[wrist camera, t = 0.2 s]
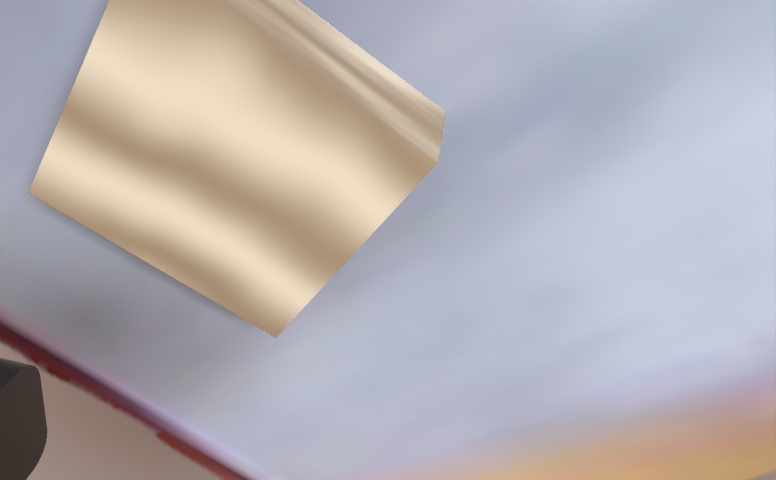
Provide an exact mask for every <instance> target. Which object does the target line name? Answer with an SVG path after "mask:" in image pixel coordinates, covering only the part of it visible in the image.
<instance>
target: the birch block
mask: <svg viewBox="0 0 776 480" xmlns="http://www.w3.org/2000/svg"><path fill="white" fill-rule="evenodd" d="M444 119H445V111H444V110H442V109H441V108H440V107H438V106H437V105H436V104H434V103H433V102H432V101H431V100H429V99H428V98H427V97H425V96H424V95H423V94H421V93H420V92H419V91H417V90H416V89H415V88H413V87H412V86H411V85H409V84H408V83H407V82H405V81H404V80H403V79H401V78H400V77H399V76H398V75H396V74H395V73H394V72H392V71H391V70H390V69H388V68H387V67H386V66H384V65H383V64H382V63H380V62H379V61H378V60H376V59H375V58H374V57H372V56H371V55H370V54H368V53H367V52H366V51H365V50H363V49H362V48H361V47H359V46H358V45H357V44H355V43H354V42H353V41H351V40H350V39H349V38H347V37H346V36H345V35H343V34H342V33H341V32H339V31H338V30H337V29H336V28H334V27H333V26H332V25H330V24H329V23H328V22H326V21H325V20H324V19H322V18H321V17H320V16H318V15H317V14H316V13H314V12H313V11H312V10H310V9H309V8H308V7H306V6H305V5H304V4H303V3H301V2H300V1H299V0H109V2H108V5H107V7H106V9H105V12H104V14H103V16H102V19H101V21H100V24H99V26H98V28H97V31H96V33H95V35H94V38H93V40H92V43H91V45H90V47H89V50H88V52H87V54H86V57H85V59H84V62H83V64H82V66H81V69H80V71H79V74H78V76H77V78H76V81H75V83H74V85H73V88H72V90H71V93H70V95H69V97H68V100H67V102H66V104H65V107H64V109H63V112H62V114H61V116H60V119H59V121H58V123H57V126H56V128H55V131H54V133H53V135H52V138H51V140H50V142H49V145H48V147H47V150H46V152H45V154H44V157H43V159H42V161H41V164H40V166H39V169H38V171H37V173H36V176H35V178H34V180H33V183H32V185H31V188H30V190H29V192H28V193H29V194H31V195H33V196H35V197H36V198H38V199H40V200H41V201H43V202H45V203H47V204H48V205H50V206H52V207H53V208H55V209H57V210H58V211H60V212H62V213H64V214H65V215H67V216H69V217H70V218H72V219H74V220H76V221H77V222H79V223H81V224H82V225H84V226H86V227H87V228H89V229H91V230H93V231H94V232H96V233H98V234H99V235H101V236H103V237H105V238H106V239H108V240H110V241H111V242H113V243H115V244H116V245H118V246H120V247H122V248H123V249H125V250H127V251H128V252H130V253H132V254H134V255H135V256H137V257H139V258H140V259H142V260H144V261H145V262H147V263H149V264H151V265H152V266H154V267H156V268H157V269H159V270H161V271H163V272H164V273H166V274H168V275H169V276H171V277H173V278H174V279H176V280H178V281H180V282H181V283H183V284H185V285H186V286H188V287H190V288H192V289H193V290H195V291H197V292H198V293H200V294H202V295H203V296H205V297H207V298H209V299H210V300H212V301H214V302H215V303H217V304H219V305H221V306H222V307H224V308H226V309H227V310H229V311H231V312H232V313H234V314H236V315H238V316H239V317H241V318H243V319H244V320H246V321H248V322H250V323H251V324H253V325H255V326H256V327H258V328H260V329H261V330H263V331H265V332H267V333H268V334H270V335H272V336H273V337H275V338H276V337H277V336H278V335H279V334H280V333H281V331H282V330H283V329H284V328H285V327H286V326H287V325H288V324H289V323H290V322H291V321H292V320H293V318H294V317H295V316H296V315H297V314H298V313H299V312H300V311H301V310H302V309H303V308H304V307H305V306H306V304H307V303H308V302H309V301H310V300H311V299H312V298H313V297H314V296H315V295H316V294H317V293H318V292H319V290H320V289H321V288H322V287H323V286H324V285H325V284H326V283H327V282H328V281H329V280H330V279H331V278H332V276H333V275H334V274H335V273H336V272H337V271H338V270H339V269H340V268H341V267H342V266H343V265H344V264H345V262H346V261H347V260H348V259H349V258H350V257H351V256H352V255H353V254H354V253H355V252H356V251H357V249H358V248H359V247H360V246H361V245H362V244H363V243H364V242H365V241H366V240H367V239H368V238H369V237H370V235H371V234H372V233H373V232H374V231H375V230H376V229H377V228H378V227H379V226H380V225H381V224H382V223H383V221H384V220H385V219H386V218H387V217H388V216H389V215H390V214H391V213H392V212H393V211H394V210H395V209H396V207H397V206H398V205H399V204H400V203H401V202H402V201H403V200H404V199H405V198H406V197H407V196H408V195H409V193H410V192H411V191H412V190H413V189H414V188H415V187H416V186H417V185H418V184H419V183H420V182H421V180H422V179H423V178H424V177H425V176H426V175H427V174H428V173H429V172H430V171H431V170H432V169H433V168H434V166H435V165H436V164H437V163H438V160H439V153H440V146H441V139H442V133H443V126H444Z"/></svg>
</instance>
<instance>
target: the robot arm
mask: <svg viewBox="0 0 776 480" xmlns="http://www.w3.org/2000/svg"><path fill="white" fill-rule="evenodd" d="M46 439H47V425H46V417H45V410H44V402H43V395H42V387H41V379H40V374H39V371H38V369H37V368H36V367H35V366H32V365H28V364H24V363H19V362H15V361H10V360H6V359H2V358H0V480H26V479H27V478H28V476H29V475H30V473H31V472H32V471H33V470H34V468H35V466H36V465H37V463H38V461H39V459H40V457H41V455H42V453H43V450H44V447H45V444H46Z"/></svg>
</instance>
